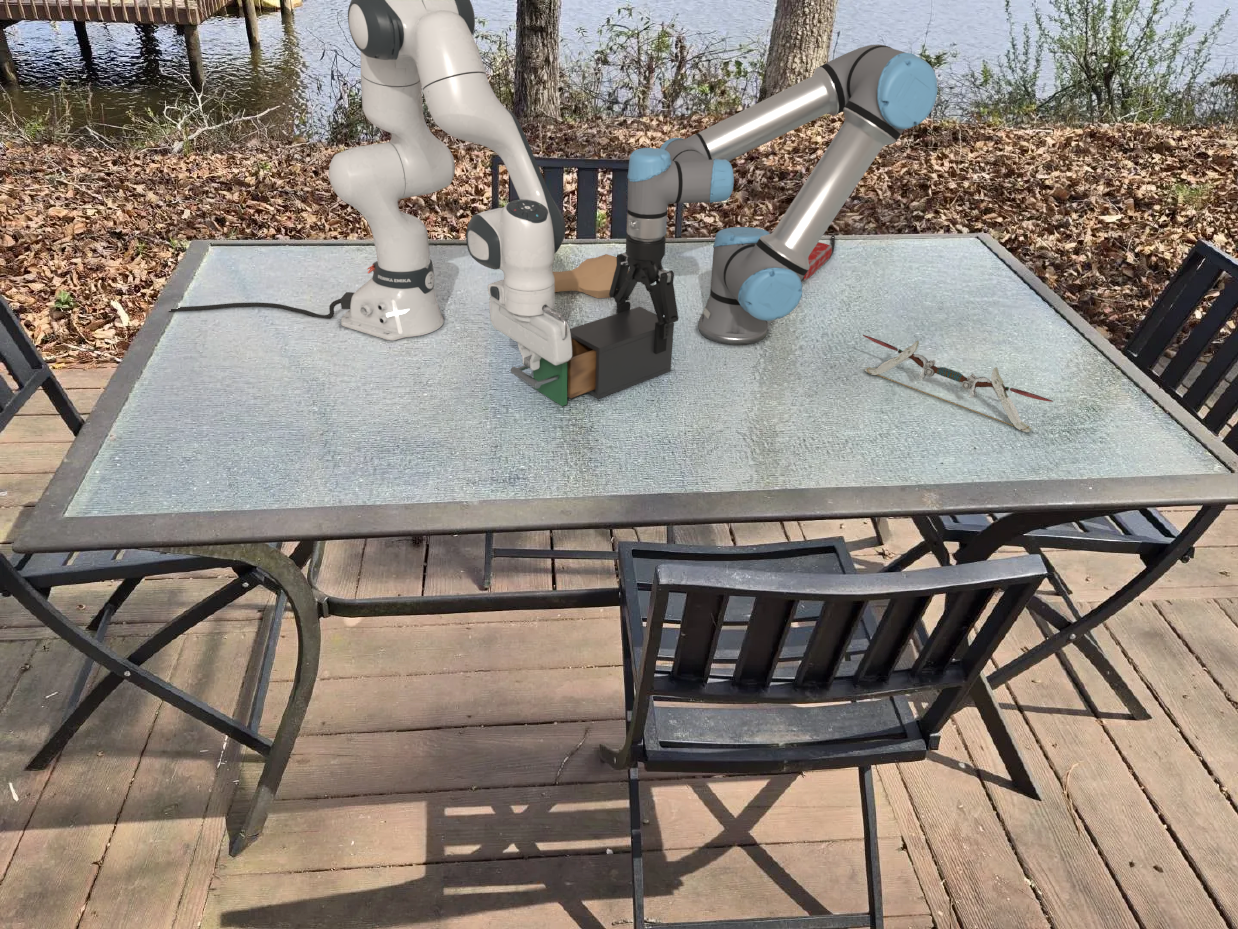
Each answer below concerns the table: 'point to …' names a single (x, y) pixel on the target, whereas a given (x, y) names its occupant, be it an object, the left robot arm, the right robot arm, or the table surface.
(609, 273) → the squash
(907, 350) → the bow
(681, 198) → the right robot arm
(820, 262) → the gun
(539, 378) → the drawer
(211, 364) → the table surface
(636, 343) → the dark grey box
